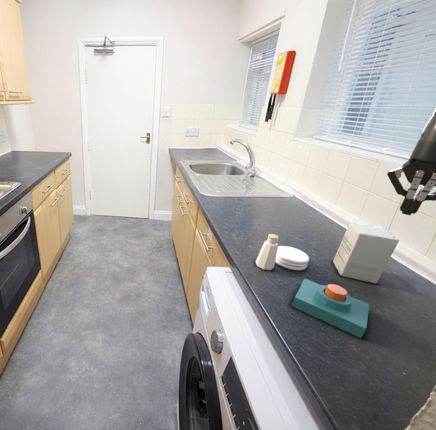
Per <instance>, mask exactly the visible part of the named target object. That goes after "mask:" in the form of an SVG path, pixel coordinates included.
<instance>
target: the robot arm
mask: <svg viewBox="0 0 436 430" xmlns="http://www.w3.org/2000/svg"><path fill="white" fill-rule="evenodd" d="M402 173H403V174H404V176H405V178H406V180H407V182H408V183H409V185H408V188H407V189H405V188H404V186H403V185H402V183H401V181H400V178H401V177H402ZM386 175H387V177H388V179H389V181H390V183H391V185H392V187H393V189H394V190H395V192H396V194H397V195H399V196H402V197H404V199H402V202H401V204H400V205H399V211H400V212H401V214H402V215H406V216H412V215H413V214H414V215H415V214H416V213H417V212H418V211H419V209H420V208H421V206H422V203H423V202H426V201H432V202H435V201H436V190H435V191H433V192H431V191H432V190H433V188H434V187H436V108H435V110H434V111H433V113H432V116H431V117H430V118H429V120H428V122H427V123H426V125H425V126H424V128H423V130H422V132H421V134H420V136H419V139H418V140H417V142H416V144H415V146H414V148H413V151H412V153H411V154H410V157H409V158H408V160H407V161H406V162H405V163H403V164H402V166H401V167H397V168H395V169H389V170H388V171H387V173H386ZM419 186H421V187H420V189H419ZM418 189H419V191H418ZM416 192H417V193H416Z"/></svg>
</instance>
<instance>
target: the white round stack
mask: <svg viewBox="0 0 436 430" xmlns="http://www.w3.org/2000/svg"><path fill="white" fill-rule="evenodd" d="M309 262H310V257H309V255H308V254H307V253H306V252H304V251H303V250H301V249H299V248H296V247H293V246H288V245H278V249H277V255H276V260H275V264H277V265H278V266H280V267H282V268H285V269H288V270H292V271H303V270H306V268H307V267H308V265H309Z"/></svg>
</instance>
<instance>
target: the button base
mask: <svg viewBox="0 0 436 430" xmlns="http://www.w3.org/2000/svg"><path fill="white" fill-rule="evenodd" d="M327 285H328V284H323V285H322V284H319V283H317V282H314V281H312V280H311V279H310V280H309V279H307V278H304V279H303V280H302V282H301V285H300V286H299V288H298V290H297V292H296V293H295V295H294V299H293V301H292V303H291V307H292V308H295V309H297V310H299V311H301V312H303V313H306V314H308V315H310V316H313V317H314V318H317V319H318V320H320V321H323V322H325V323H327V324H329V325H331V326H334V327H336V328H338V329H340V330H342V331H345V332H347V333H348V334H351V335H353V336H355V337H357V338H359V339H362V337H363V336H364V334H365V333H366V330H367V328H368V320H369V319H368V318H369V312H370V303H368V302H365V301H362V300H360V299H358V298H355V297H353V296H351V295H350V294H348V293H347V295H346V297H345V299H344V300H343V301H338V300H335V299H332V298H330V297H329V296H327V295H326V294H325V290H326V287H327Z"/></svg>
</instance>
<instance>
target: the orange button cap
mask: <svg viewBox="0 0 436 430" xmlns="http://www.w3.org/2000/svg"><path fill="white" fill-rule="evenodd" d="M326 285H327V287H326V290H325V294H326V295H327V296H329V297H330V298H332V299H335V300H338V301H343V300H344V299H345V297H346V295H347V294H348V291H347V289H345V288H344V287H342V286H340V285H338V284H334V283H328V284H326Z"/></svg>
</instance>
